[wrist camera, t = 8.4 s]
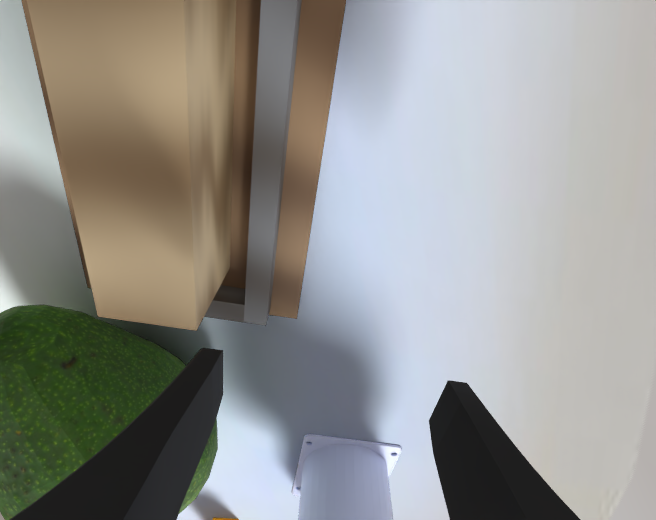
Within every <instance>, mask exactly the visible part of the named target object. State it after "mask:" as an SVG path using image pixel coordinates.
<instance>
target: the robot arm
mask: <svg viewBox="0 0 656 520" xmlns="http://www.w3.org/2000/svg"><path fill="white" fill-rule="evenodd" d="M222 396H223V350H215V349H208V348H202V349H201V350H199V352H198V353H197V354H196V355H195V356H194V358H193V359H192V360H191V361H190V362H189V363H188V365H187V366H186V367H185V368H184V369H183V370H182V371H181V372H180V374H179V375H178V376H177V377H176V378H175V379H174V380H173V381H172V382H171V383H170V384H169V385H168V386H167V387H166V388H165V389H164V391H163V392H162V393H161V394H160V395H159V396H158V397H157V398H156V399H155V400H154V401H153V402H152V403H151V404H150V405H149V406H148V407H147V408H146V409H145V410H144V411H143V412H142V413H141V414H139V415H138V416H137V417H136V418H135V419H134V420H133V421H132V422H131V423H130V424H129V425H128V426H127V427H126V428H125V429H123V430H122V431H121V432H120V433H119V434H118V435H117V436H116V437H115V438H114V439H112V440H111V441H110V442H109V443H108V444H107V445H106V446H104V447H103V448H102V449H101V450H100V451H99V452H97V453H96V454H95V455H94V456H93V457H91V458H90V459H89V460H88V461H86V462H85V463H84V464H83V465H82V466H80V467H79V468H78V469H77V470H75V471H74V472H73V473H71V474H70V475H69V476H68V477H66V478H65V479H64V480H62V481H61V482H60V483H59V484H57V485H56V486H55V487H54V488H52V489H51V490H50V491H48V492H47V493H46V494H44V495H43V496H42V497H40V498H39V499H38V500H36V501H35V502H34V503H32V504H31V505H29V506H28V507H27V508H25V509H24V510H22V511H21V512H19V513H18V514H17V515H15V516H14V517H12V518H11V519H9V520H176V519H177V517H178V514H179V511H180V508H181V506H182V503H183V501H184V498H185V496H186V493H187V491H188V489H189V486H190V484H191V481H192V479H193V476H194V474H195V471H196V469H197V466H198V464H199V462H200V459H201V457H202V454H203V452H204V449H205V447H206V444H207V442H208V439H209V437H210V434H211V432H212V429H213V427H214V423H215V420H216V417H217V413H218V410H219V406H220V403H221V399H222ZM429 424H430V432H431V440H432V447H433V454H434V458H435V462H436V466H437V470H438V474H439V478H440V482H441V486H442V490H443V494H444V498H445V502H446V505H447V509H448V513H449V517H450V520H580V519H579V518H578V517H577V516H576V514H575V513H574V512H573V511H572V510H571V509H570V508H569V507H568V506H567V505H566V504H565V503H564V502H563V501H562V500H561V499H560V498H559V496H558V495H557V494H556V493H555V492H554V491H553V490H552V489H551V488H550V486H549V485H548V484H547V483H546V482H545V481H544V479H543V478H542V477H541V476H540V475H539V474H538V473H537V471H536V470H535V469H534V468H533V467H532V466H531V464H530V463H529V462H528V461H527V460H526V458H525V457H524V456H523V455H522V454H521V452H520V451H519V450H518V449H517V447H516V446H515V445H514V444H513V442H512V441H511V440H510V439H509V437H508V436H507V435H506V434H505V432H504V431H503V430H502V428H501V427H500V426H499V425H498V423H497V422H496V421H495V419H494V418H493V417H492V415H491V414H490V413H489V412H488V410H487V409H486V408H485V406H484V405H483V404H482V402H481V401H480V400H479V398H478V397H477V396H476V394H475V393H474V392H473V390H472V389H471V388H470V387H469V385H468V384H467V383H463V382H456V381H448V382H447V384H446V386H445V388H444V390H443V392H442V394H441V397H440V399H439V401H438V403H437V405H436V407H435V409H434V411H433V413H432V415H431V418H430V420H429ZM308 441H310V442H312V443H307V442H308ZM401 451H402V448H401V446H399V445H393V444H385V443H377V442H369V441H362V440H354V439H346V438H338V437H331V436H323V435H315V434H306V435H305V436H304V439H303V443H302V448H301V453H300V457H299V462H298V466H297V471H296V476H295V480H294V485H293V489H292V494H293V495H294V496H297V497H300V504H299V515H298V520H393V513H392V504H391V496H390V487H389V476H390V474H391V472H392V470H393V468H394V466H395V464H396V462H397V460H398V458H399V455H400V453H401ZM393 452H395V453H396V454H391V453H393ZM297 487H301V488H297Z"/></svg>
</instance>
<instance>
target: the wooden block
mask: <svg viewBox="0 0 656 520" xmlns="http://www.w3.org/2000/svg"><path fill="white" fill-rule="evenodd" d="M27 4H28V9H29V13H30V18H31V22H32V26H33V31H34V35H35V40H36V44H37V49H38V53H39V57H40V62H41V66H42V71H43V75H44V80H45V84H46V89H47V93H48V97H49V102H50V106H51V111H52V115H53V120H54V124H55V128H56V133H57V137H58V142H59V146H60V151H61V155H62V160H63V164H64V168H65V173H66V177H67V182H68V186H69V191H70V195H71V199H72V204H73V208H74V213H75V217H76V222H77V226H78V231H79V235H80V239H81V244H82V248H83V253H84V257H85V262H86V266H87V270H88V275H89V279H90V284H91V288H92V293H93V297H94V302H95V306H96V310H97V315H98V317H104V318H111V319H118V320H125V321H132V322H139V323H146V324H153V325H160V326H167V327H174V328H181V329H188V330H195V331H197V329H198V327H199V325H200V323H201V321H202V319H203V317H204V316H205V314H206V312H207V310H208V308H209V306H210V304H211V302H212V300H213V299H214V297H215V295H216V293H217V291H218V289H219V287H220V285H221V283H222V282H223V280H224V278H225V276H226V274H227V272H228V270H229V268H230V239H231V197H232V154H233V112H234V69H235V27H236V0H27Z"/></svg>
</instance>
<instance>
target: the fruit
mask: <svg viewBox="0 0 656 520" xmlns="http://www.w3.org/2000/svg"><path fill="white" fill-rule="evenodd" d="M185 367H186V365H185V364H184V363H183V362H182V361H181V360H180V359H179V358H177V357H175V356H174V355H172V354H171V353H169V352H168V351H166V350H165V349H163V348H162V347H160V346H159V345H157V344H155V343H153V342H150V341H148V340H146V339H144V338H141V337H139V336H137V335H135V334H132V333H130V332H128V331H125V330H123V329H120V328H118V327H116V326H113V325H111V324H109V323H106V322H104V321H102V320H99V319H97V318H94V317H91V316H89V315H87V314H85V313H82V312H78V311H73V310H69V309H64V308H58V307H53V306H48V305H28V306H18V307H13V308H10V309H8V310H6V311H4V312H2V313H0V512H1V514H2V516H3V517H4V519H5V520H9V519H11V518H12V517H14V516H15V515H17V514H18V513H19V512H21V511H22V510H24V509H25V508H27V507H28V506H29V505H31V504H32V503H34V502H35V501H36V500H38V499H39V498H40V497H42V496H43V495H44V494H46V493H47V492H48V491H50V490H51V489H52V488H54V487H55V486H56V485H57V484H59V483H60V482H61V481H62V480H64V479H65V478H66V477H68V476H69V475H70V474H71V473H73V472H74V471H75V470H77V469H78V468H79V467H80V466H82V465H83V464H84V463H85V462H86V461H88V460H89V459H90V458H91V457H93V456H94V455H95V454H96V453H97V452H99V451H100V450H101V449H102V448H103V447H104V446H106V445H107V444H108V443H109V442H110V441H111V440H112V439H114V438H115V437H116V436H117V435H118V434H119V433H120V432H121V431H122V430H123V429H125V428H126V427H127V426H128V425H129V424H130V423H131V422H132V421H133V420H134V419H135V418H136V417H137V416H138V415H139V414H141V413H142V412H143V411H144V410H145V409H146V408H147V407H148V406H149V405H150V404H151V403H152V402H153V401H154V400H155V399H156V398H157V397H158V396H159V395H160V394H161V393H162V392H163V391H164V389H165V388H166V387H167V386H168V385H169V384H170V383H171V382H172V381H173V380H174V379H175V378H176V377H177V376H178V375H179V374H180V372H181V371H182V370H183V369H184V368H185ZM217 449H218V445H217V419H216V420H215V423H214V427H213V429H212V432H211V434H210V437H209V439H208V442H207V444H206V447H205V449H204V452H203V454H202V457H201V459H200V462H199V464H198V466H197V469H196V471H195V474H194V476H193V479H192V481H191V484H190V486H189V489H188V491H187V493H186V496H185V498H184V501H183V503H182V506H181V508H180V511H179V513H180V512H182V511H183V510H184V509H185V508H186V507H187V506H188V505H189V504H190V503H191V502H192V501H193V500H195V499H196V497H197V495H198V494H199V492H200V491H201V489H202V487H203V486H204V484H205V483H206V481H207V479H208V478H209V475H210V472H211V469H212V465H213V462H214V459H215V456H216V452H217Z"/></svg>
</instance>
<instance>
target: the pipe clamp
mask: <svg viewBox="0 0 656 520" xmlns="http://www.w3.org/2000/svg"><path fill="white" fill-rule="evenodd" d="M213 520H239V519H230V518H213Z"/></svg>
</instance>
